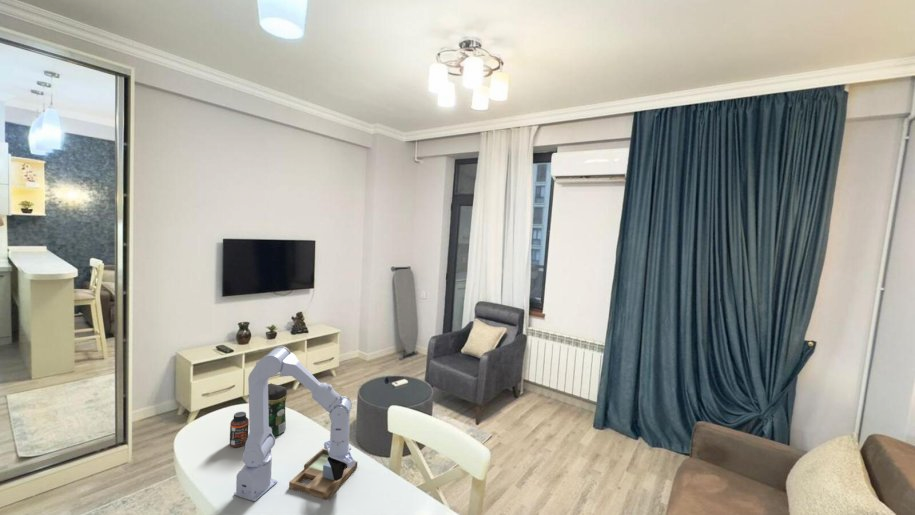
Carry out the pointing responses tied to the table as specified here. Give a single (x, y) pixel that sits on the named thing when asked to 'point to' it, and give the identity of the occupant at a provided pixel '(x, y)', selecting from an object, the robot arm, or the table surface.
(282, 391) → the coffee jar
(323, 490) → the brown compartment tray
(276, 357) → the robot arm
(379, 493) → the table surface
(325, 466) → the slate block
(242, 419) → the supplement bottle
